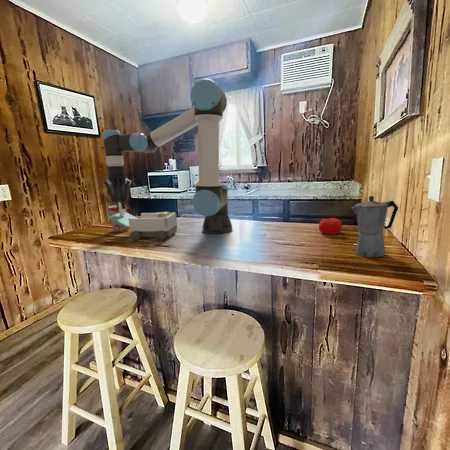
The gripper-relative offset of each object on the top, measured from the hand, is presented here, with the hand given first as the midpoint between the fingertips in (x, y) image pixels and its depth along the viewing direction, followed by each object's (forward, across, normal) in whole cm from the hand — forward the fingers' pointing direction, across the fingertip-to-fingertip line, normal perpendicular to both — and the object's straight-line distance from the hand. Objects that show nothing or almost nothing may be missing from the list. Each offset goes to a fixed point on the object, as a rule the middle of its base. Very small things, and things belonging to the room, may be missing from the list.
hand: (122, 215), depth 124 cm
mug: (+10, +8, -12) cm, 18 cm away
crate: (+4, -20, -1) cm, 20 cm away
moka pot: (+11, -104, +25) cm, 107 cm away
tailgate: (+4, -6, 0) cm, 7 cm away
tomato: (+11, -98, -3) cm, 98 cm away
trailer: (+10, -16, 0) cm, 19 cm away
